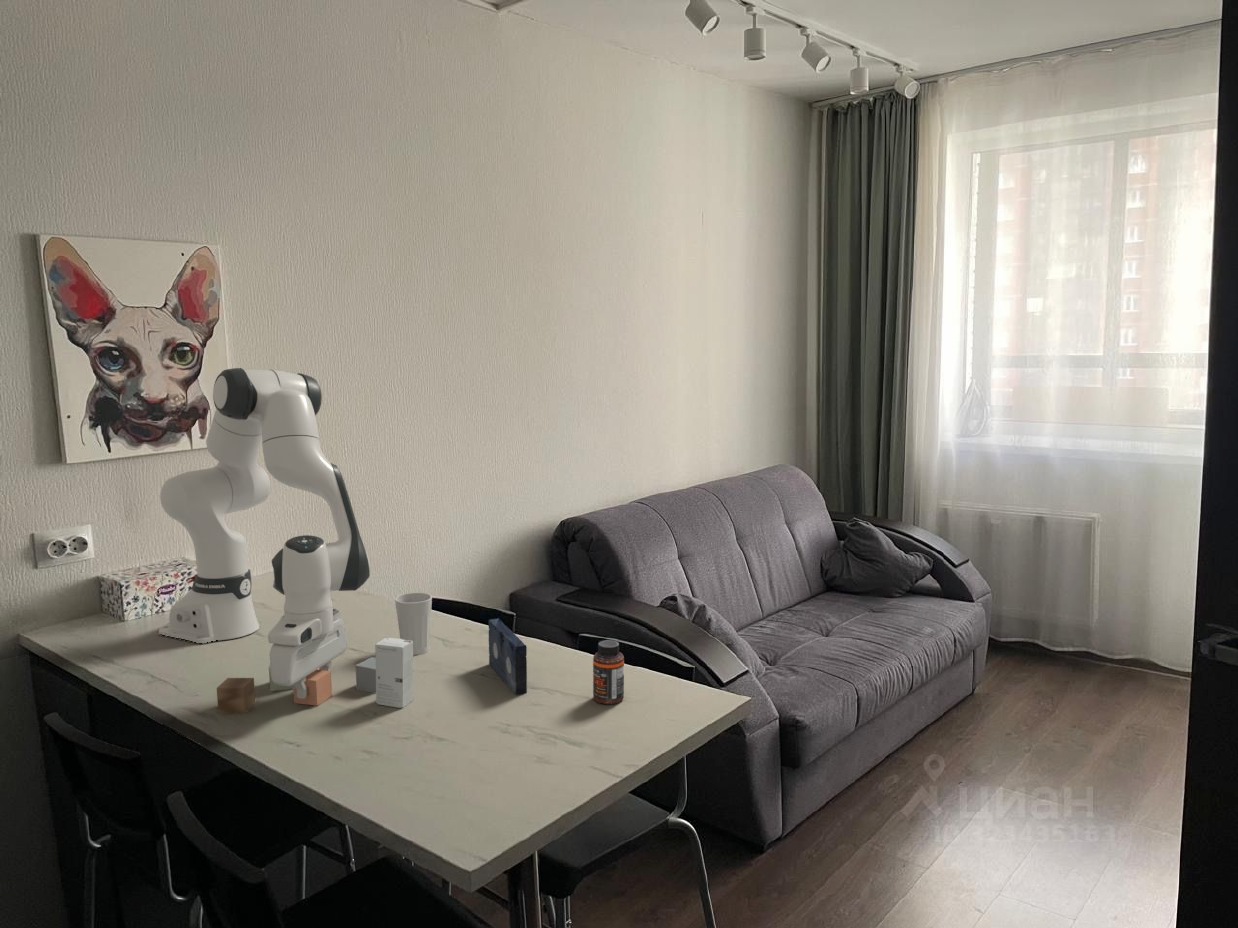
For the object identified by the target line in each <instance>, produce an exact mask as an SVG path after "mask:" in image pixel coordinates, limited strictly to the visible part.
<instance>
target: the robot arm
mask: <svg viewBox="0 0 1238 928" xmlns="http://www.w3.org/2000/svg"><path fill="white" fill-rule="evenodd" d="M322 397H323V395H322V389H321V386H320V384H319V383H318V381H317V379H315V378H314V377H312V376H310V375H308V374H305V373H304V374H303V373H300V372H299V373H294V372H288V371H283V370H277V369H272V368H271V369H258V368H257V369H256V368H255V369H254V368H253V369H252V368H251V369H249V368H248V369H245V368H244V369H243V368H241V367H236V368H235V367H234V368H227V369H224V370H222V371H221V372H220V373H219V374H218V375H217V377H216V379H215V381H214V385H213V391H212V398H213V404H214V407H215V411H214V414H213V418H212V419H211V425H210V428H209V429H208V434H207V437H206V439H205V440H206V441H205V444H206V448H207V451H208V453H209V454H210V455H211V457H213V458H214V460H216V461H218V463H217V464H216V465H215V466H214V467H210V468H204V469H197V470H192V471H191V470H189V471H185V472H183V473H180V474H177V475H175V476H171V477H170V478H168V479H167V480H165V481H164V483H163V485H162V487H161V489H160V495H159V496H160V497H159V498H160V504H161V507H162V509H163V510H164V512H165V513H166V514H167V515H168V516H169V517H170V518H171V519H172V520H175V521H176V522H178V523H179V524H181V526H183V527H184V528H185V530H186V531H187V532H188V534H189V537H190V538H191V541H192V544H193V548H194V549H193V550H194V554H195V561H196V562H195V563H196V574H195V575H193V576H190V577H188V578H187V580H189V581H187V583H188V584H190V583H192V586H191V589H190V591H188V592H187V593H186V594H185V595H183V596H182V597H181V598H180V599H179V600H177V602H175V603H174V604H173V605H172V606H171V608H170V610H169V615H168V616H169V617H168V618H169V619H168V623H166V624H164V625H163V626H162V627H160V628H159V630H158V635H159V634H163V635H168V636H173V637H178V638H183V639H186V640H190V641H193V642H192V643H194V642H196V643H195V644H199V643H202V644H208V643H212V642H211V641H213V642H216V640H218V641H225V640H232V639H236V638H241V637H245V636H248V635H250V634H253V633H255V632H257V631H258V630H259V629H260V627H261V625H260V623H259V620H258V618H257V615H256V612H255V606H254V603H253V597H252V593H251V592H252V574H251V570H250V569H249V560H248V559H249V558H248V557H249V556H248V547H247V546H248V544H247V539H246V538H245V536H244V535H243V534H241V533H240V532H239V531H237V530H235V529H232V528H229V527H228V525H227V523H226V519H225V515H226V514H230V513H237V512H241V511H245V510H248V509H250V508H254V507H256V506H258V505H260V504H262V503H265V501H266V500H267V499H269V496H270V492H271V479H270V476H269V475H268V473H269V474H270V475H271V477H272V478H274V479H275V480H276V481H277V482H280V483H281V484H283V485H286V486H288V487H291V488H294V489H298V490H302V491H305V492H308V493H312V494H314V495H316V496H319V497H320V498H321V499H323V500H324V501H325V502H326V503H327V504H328V507H329V509H330V513H331V517H332V520H333V522H334V527H335V529H336V534H337V536H338V539H337V541H335V542H327V543H326V542H325V540H324V539H323V538H321V537H319V536H315V535H307V534H305V535H298V536H293V537H291V538H289V539H287V541H285V542H284V544H283V547H282V548H281V549H280V550H279V551H278V552H277V553H276V554H275V555H274V556H273V557H272V559H271V565H272V568H273V569H272V570H273V585H272V587H273V589H275V590H276V591H277V592H279V593H280V594H281V595H283V596H284V598H285V599H284V600H285V601H284V605H283V614H284V615H282V616H281V617H280V618H279V620H278V622H277V623H276V624H275V626H273V627H272V629H271V630H270V631H269V632H268V634H267V641H268V643H269V644H272V645H271V647H270V650H269V664H270V671H271V679H272V681H273V682H274V684H275V685H280V686H291V685H294V687H295V688H296V689H297V697H298V698H301V699H304V698H306V697H307V696H309V687H306V686H305V684H304V682H305V681H306V676H307V675H309V674H310V673H312V672H314V671H315V670H325V671H331V668H332V660H334V659H336V658H337V657H339V656H341V655H342V654H344V653H345V652H346V651H347V647H348V638H347V632H346V631H347V630H346V626H345V622H344V620H343V619H342V614H341V612H340V611H339V609H337V608H334V607H333V601H332V598H331V592H333V591H338V592H349V591H351V592H352V591H357V590H358V589H360V588H361V587H362V586H363V585H364V584H365V583H366V582H367V581H368V579H369V578H370V577H371V576H370V575H371V573H370V572H371V561H370V557H369V554H368V551H367V549H366V547H365V546H364V545H365V544H364V543H363V539H362V536H361V534H360V530H359V526H358V523H357V519H356V517H355V514H354V509H353V507H352V503H351V498H350V496H349V493H348V490H347V489H348V488H347V487H346V483H345V481H344V478H343V475H342V473H341V471H340V469H339V468H338V466H337V464H334V463H332V462H330V461H329V460H328V459H327V457H326V456H325V454H324V452H323V451H322V446H321V443H320V433H319V427H318V421H317V417H316V416H317V414H318V413H319V411H320V409H321V406H322V401H323V400H322V399H323V398H322ZM261 444H262V453H263V460H264V465H265V468H266V470H267V471H268V473H267V472H266V470H265V469H264V468H263V467H262V466H261V465H259V461H258V458H259V457H258V455H259V452H260V448H261ZM259 626H260V627H259ZM190 641H189V642H190ZM207 642H208V643H207Z"/></svg>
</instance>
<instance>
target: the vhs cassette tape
mask: <svg viewBox="0 0 1238 928" xmlns="http://www.w3.org/2000/svg"><path fill="white" fill-rule="evenodd" d="M527 649H528V648H527V645H526V644H525V642H523V641H522V640H521V638H519V637H518V636H517V635H516V634H515V632H513V630H511V629H510V628H509V627H508V626H507V625H506V624H505V623H504V622H503V621H502V620H501V619H500V618H499V617H498V618H491V619H488V654H489V655H488V664H489V666H490V667H491V669H492V670H493V671H494V672H495V673H496V674H497V675H498V676H499V678H500V679H501V678H502V679H503V680H504V681H503V680H502V679H501V680H502V681H503V682H504V684H506V686H507V685H508V686H509V687H508V686H507V687H508V688H509V689H510V690H511V691H512V692H513V694H514V693H515V694H514V695H515V696H516V695H518V696H519V695H521V694H522V695H523V694H527V693H528V679H527V678H528V675H527V673H528V670H527V669H528V666H527V662H528V661H527V655H528V652H527V651H528V650H527Z"/></svg>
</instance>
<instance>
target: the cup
mask: <svg viewBox="0 0 1238 928" xmlns="http://www.w3.org/2000/svg"><path fill="white" fill-rule="evenodd" d="M432 600H433V596H432V594H429V593H428V592H427V593H426V592H408V593H407V592H406V593H402V594H400V595H399V594H398V595H397V596H396V597H395V598H394V602H395V609H396V616H397V617H396V618H397V623H398V632H399V639H403V640H409V641H413V656H416V655H417V656H419V655H423V654H426V653H428V652H429V651H430V650H431V643H430V640H431V622H432V621H431V618H432V603H433V601H432Z"/></svg>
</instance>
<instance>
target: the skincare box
mask: <svg viewBox="0 0 1238 928" xmlns="http://www.w3.org/2000/svg"><path fill="white" fill-rule="evenodd" d="M374 649H375V650H374V652H375V658H376V693H375V698H376V699H375V703H376V705H379V706H386V707H392V708H397V709H398V708H399V709H403V708H405V707H406V706H409V704H410V703H412V702H413V701H414V655H413V641H409V640H403V639H400V638H396V637H395V638H392V637H385V638H383V639H382V640H380V641H378V642H377V643H375V648H374Z"/></svg>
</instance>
